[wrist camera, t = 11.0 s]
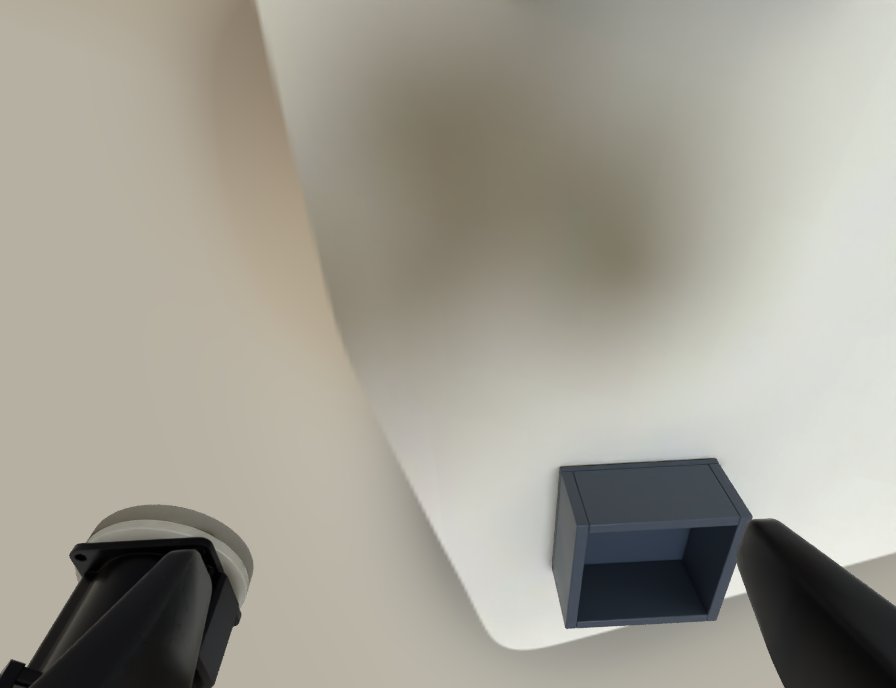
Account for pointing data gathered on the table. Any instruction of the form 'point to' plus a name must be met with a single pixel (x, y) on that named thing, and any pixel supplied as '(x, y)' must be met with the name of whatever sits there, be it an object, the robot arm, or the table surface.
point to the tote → (645, 542)
